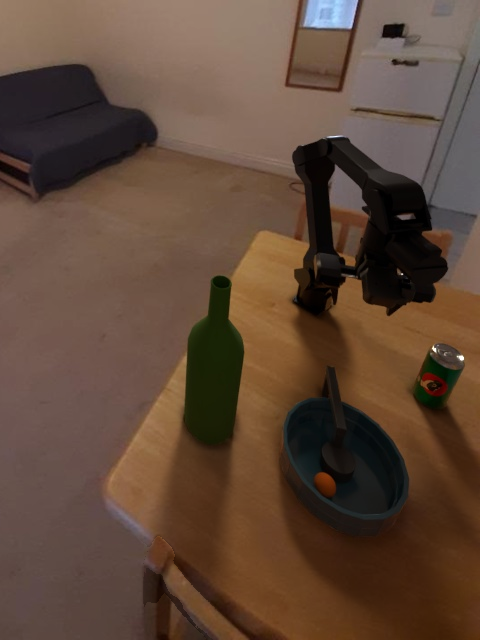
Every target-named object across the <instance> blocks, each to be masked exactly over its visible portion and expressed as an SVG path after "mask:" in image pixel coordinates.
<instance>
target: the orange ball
mask: <svg viewBox="0 0 480 640" xmlns="http://www.w3.org/2000/svg"><path fill="white" fill-rule="evenodd" d="M314 485H315V488H316V490H317V491H318V492H319V493H320V494H321V495H322V496H324V497H327V498H330V497H332V496H334V494H335V492H336V484H335V482H334V480H333V478H332V477H331V476H330V475H328V474H327V473H323V472H321V473H318V474H317V475H316V476H315V478H314Z"/></svg>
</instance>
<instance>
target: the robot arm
mask: <svg viewBox="0 0 480 640" xmlns="http://www.w3.org/2000/svg"><path fill="white" fill-rule="evenodd" d="M291 160H292V164H293V166H294V171H295V174H296V175H297V177H298V178H299V179H300V180H301V182H302V183H303V187H304V188H303V189H304V199H305V211H306V222H307V233H308V234H307V235H308V244H309V246H308V248H307V250H306V252H305V254H304V255H303V258H302V267H300V268H294V269H293V278H294V280H295V281H296V283H297V284H298V286H297V291H296V295H295V296H294V297H293V298H292V300H291V301H292V302H294V304H296V305H298V306H300V307H301V308H303V309H304V310H306V311H307V312H309V313H310V314H312V315H313V316H315V317H318V316H320V315H321V314H322V313H325V312H326V311H327V310H328V309H329V308H330V307H331V305H332V306H336V305H337V303H338V298H339V297H338V296H339V289H340V288H341V286H343V285H344V284H345V283H346V280H347V278H348V279H353V280H354V279H355V280H357V281H361V291H362V300H363V302H365V304H367V305H371V306H379V307H384V308H386V309H385V314H386V316H387V317H390V316H392V315H393V314H395V313H396V312H397V311H398V310H400V309H401V308H402V307H404V306H407V304H411V303H415V304H423V303H429V304H431V303H433V302H434V300H435V298H436V296H437V288H436V287H435V285H434V284H436V283H437V282H439V281H440V280H442V279H443V278H444V277H445V276H446V275H447V272H448V271H449V265H448V260H446V259H445V257H443V256H442V253H443V249H442V248H440V246H438V245H437V244H435V243H433V242H432V241H430V240H429V239H428V238H426V236H424V235H423V232H432V231H433V225H432V216H431V213H430V211H429V207H428V203H427V198H426V194H425V192H424V191H425V190H424V189H423V187H422V185H420V184H419V182H417V181H415V180H414V179H411V178H410V177H408V176H406V175H404V174H402V173H398V172H394V171H389V170H387V169H385V168H383V167H382V165H379V163H377V162H375V160H373V159H372V158H371V157H369V156H368V155H367V154H366V153H364V152H363V151H362V150H361V149H360V148H358V147H357V146H356V145H354V144H353V143H352V142H351V139H349V137H347V136H344V135H336V136H324V137H322V138H320V139H318V140H316V141H313V142H310V143H307V144H299V145H298V146H296V148H295V150H294V151H293V152H292V155H291ZM336 167H337V168H338V169H340V170H341V171H342V172H343V173H344V174H345V175H346V176H347V177H348V178H349V179H351V181H353V182H354V183H355V184H356V185H357V186H358V187H359V189H360V190H361V200H362V201H363V203H365V204H366V205H363V206H362V207H361V210H362V211H363V212H364V213H365V214H366V215H367V216H368V217H367V222H366V225H365V228H364V232H363V235H362V236H361V237H360V240H359V244H360V246H359V249H358V252H357V254H355V257H354V261H355V263H354V265H348V264H346V263H347V262H346V259H345V257H344V256H341V255H340V254H339V252H338V251H337V250H336V249H335V244H334V234H333V222H332V221H333V220H332V211H331V199H330V189H329V183H330V181H331V179H332V177H333V175H334V173H335V171H336ZM410 215H413V216H414V218H408V219H407V218H406V219H402V218H400V217H399V216H410ZM398 270H399V272H398Z"/></svg>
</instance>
